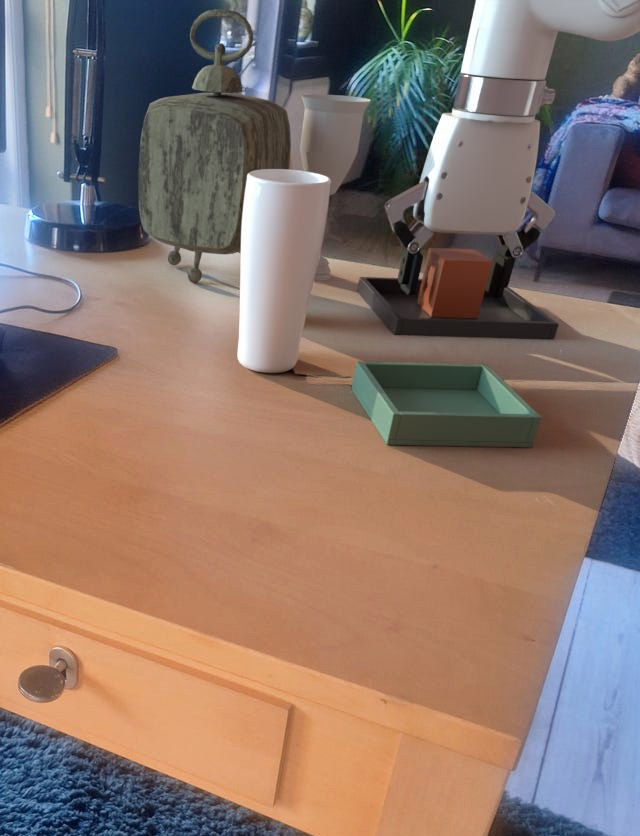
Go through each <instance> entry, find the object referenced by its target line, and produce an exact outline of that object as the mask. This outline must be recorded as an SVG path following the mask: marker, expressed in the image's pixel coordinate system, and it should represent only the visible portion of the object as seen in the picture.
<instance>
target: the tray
mask: <svg viewBox="0 0 640 836" xmlns="http://www.w3.org/2000/svg"><path fill="white" fill-rule="evenodd" d="M351 390H352V392H353V394H354V395H355V397H356V398H357V401H358V402H359V403H360V405H361V406H362V408H363V409H364V411H365V413H366V415H367V416H368V417H369V419H370V421H371V422H372V424H373V425H374V427H375V428H376V430H377V432H378V433H379V434H380V437H381V438H382V440H383V441H384V443H385V444H386V446H429V447H430V446H431V447H432V446H433V447H434V446H436V447H437V446H438V447H440V446H441V447H484V448H485V447H486V448H533V446H534V443H535V439H536V437H537V434H538V430H539V427H540V425H541V420H542V416H541V414H539V413H538V412H537V411H536V410H534V408H533V407H532V406H530V404H528V403H527V402H526V401H525V399H523V398H522V397H521V396H520V395H519V394H518V393H517V391H515V390H514V389H513V388H512V386H510V385H509V383H507V382H506V381H505V380H504V379H503V378H501V376H500V375H499V374H497V373H496V372H495V370H493V369H492V368H491V367H490V366H489V365H488V364H480V363H479V364H478V363H477V364H473V363H472V364H471V363H439V362H438V363H436V362H403V361H402V362H397V361H362V360H361V361H360V360H359V361H358V360H357V361H356V363H355V368H354V373H353V379H352V385H351Z"/></svg>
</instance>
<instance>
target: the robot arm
mask: <svg viewBox="0 0 640 836" xmlns="http://www.w3.org/2000/svg"><path fill="white" fill-rule="evenodd" d="M559 32H562V33H567V34H573V35H577V36H580V37H584V38H589V39H593V40H597V41H602V42H614V41H615V42H616V41H620V40H623V39H627V38H630V37H632V36H634V35H635V34H637V33H639V32H640V0H475V3H474V8H473V13H472V18H471V22H470V27H469V32H468V35H467V41H466V45H465V50H464V53H463V59H462V62H461V67H460V68H461V69H460V73H459V77H458V82H457V87H456V90H455V91H456V92H455V96H454V101H453V106H452V109H451V112H443V113H442V114H441V117H440V119H439V121H438V124H437V126H436V128H435V132H434V134H433V138H432V140H431V143H430V147H429V149H428V152H427V156H426V159H425V162H424V164H423V165H424V166H423V169H422V172H421V176H420V179H419V182H418V183H417V184H415V185H414V186H412V187H409V188H408V189H407V190H404V191H403V192H401V193H399V194H397V195H395V196H394V197H392V198H390V199H388V200H387V201H386V202H385V203H384V210H385V213H386V216H387V219H388V223H389V224H390V229H391V231H392V233H393V234H394V236H395V237H396V239H397V240H398V242H399V243H400V246H401V247H403V249H402V250H403V251H402V255H401V261H400V266H399V270H398V275H397V278H398V282H399V283H400V284H401V289H402V290H403V291H404V292H405V293H406V294H407V295H413V294H415V293H416V288H417V284H418V279H420V275H421V270H422V265H423V260H424V255H423V254H422V253H421V250H422V248H423V247H424V246H425V245H426V243H427V242H429V240H431V239H432V237H433V236H434V235H435V234H436V233H440V234H457V235H481V236H483V235H484V236H496V238H497V241H498V244H499V245H500V247H499V250H495V252H494V253H493V256H492V260H491V261H492V265H491V269H490V273H489V277H488V280H487V284H486V288H485V290H486V291H487V292H488V293H490V294H491V295H492V296H493V297H495V298H501V297H502V295H503V291H504V288H507V286H508V287H509V284H510V281H511V277H512V273H513V269H514V267H515V262H516V259H517V258H520V257H521V256H522V255H523V252H524V251H525V250H526V249H527V248H528V247H530V246H531V245H532V244H533V243H535V242H536V241H537V240H538V239H539V237H540V235H541V233H542V232H544V230H545V229H546V228H547V227H548V226H549V224H550V223H551V222H552V221H553V219H554V218H555V217H556V211H555V210H554V209H553V208H552V207H551V206H550V205H549V204H548V203H547V202H546V201H544V200H543V199H542V198H541V197H540V196H539V195H538V194H536V192H534V191H533V190H532V188H533V182H534V177H535V172H536V166H537V160H538V154H539V153H538V152H539V144H540V143H539V142H540V133H541V132H540V131H541V121H540V120H538V119H536V115H537V114H539V112H540V108H541V107H544V106H552V104H554V100H555V97H556V89H555V88H550V87H548V86H547V80H546V77H547V72H548V69H549V66H550V61H551V59H552V55H553V52H554V51H553V50H554V47H555V43H556V39H557V36H558V33H559ZM412 206H413V211H412V216H413V219H414V220H415V221H416V222H415V223H414V224H413V225H412V226H411V227H410V228H409V227H408V225H407V224H406V221H405V217H404V212H405V210H406V209H409V208H411V207H412ZM527 209H528V210H529V211H531V212H532V218H531V220H530V221H529V223H528V224H527V225H525V226H524V227H522V228H521V226H522V224H523V222H524V219H525V216H526V212H527ZM520 228H521V229H520ZM519 229H520V230H519ZM517 231H518V232H517Z"/></svg>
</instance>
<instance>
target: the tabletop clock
mask: <svg viewBox="0 0 640 836" xmlns="http://www.w3.org/2000/svg"><path fill="white" fill-rule="evenodd" d="M213 18H226V19H230V20H233V21H236V22H238V23H240V24H241V25H242V26H243V28H244V29H245V30H246V33H247V37H248V41H247V44H246V46H245V47H244V48H242V49H241V50H239V51H235V52H232V53H226V48H227V47H226V46H225V44H223V43H221V42H219V43H217V44H215V47H214V51H209V50H207V49H205V48H202V47H201V46H200V45H199V44H198V43H197V41H196V37H195V34H196V31H197V29H198V28H199V26H200V25H201V24H202V23H203V22H205V21H206V20H209V19H213ZM189 39H190V43H191V47H192V48H193V50H194V51H195V52H196V53H197V54H198V55H199V56H201V57H202V58H204V59H206V60H209V61H212V62H214V63H213V64H209V65H206V66H203V67H202V68H201V69H200V71H198V73H197V74H196V76H195V78H194V81H193V83H192V86H191V89H192V90H195V91H202V92H199V93H190V94H189V93H188V94H181V95H173V96H166V97H162V98H161V97H160V98H158V99H156V100H154V101H152V102H150V103H149V104H148V105H149V106H148V108H147V110H146V114H145V116H144V119H143V124H142V128H141V135H140V144H139V157H138V169H137V171H138V173H137V175H138V176H137V177H138V179H137V180H138V185H137V186H138V210H139V219H140V222H141V226H142V230H143V231H144V232H145V233H146V234H147V235H148V236H150V237H151V238H153V239H154V240H155V241H158V242H160V243H162V244H165V245H169V246H172V247H173V250H171V251H170V252H169V253H168V254H167V262H168V263H169V264H170V266H177V265H179V264H180V263H181V262H182V256H181V253H180V250H181V249H183V250H185V251H189V252H194V260H193V267H191V268H190V269H189V270H188V271H187V279H188V281H189V282H190V283H193V284H196V283H199V282H200V281H201V279H202V270H201V269H200V268H199V267H200V263H201V259H202V255H203V253H204V254H213V255H214V254H215V255H234V254H236V253H238V254H239V255H241V225H242V212H243V202H244V194H245V187H246V180H247V174H248V173H249V172H251V171H255V170H262V169H287V170H290V167H291V148H292V147H291V146H292V144H291V143H292V138H291V136H292V135H291V125H290V119H289V114H288V111H287V110H286V109H285V108H284V107H282V106H281V105H279V104H278V103H276V102H274V101H272V100H269V99H266V98H261V97H257V96H251V95H247V94H243V92H244V90H243V85H242V81H241V78H240V76H239V74H238V73H237V72H236V70H235V69H233V68H232V67H231V66H229V65H225V63H226V62H234V61H237V60H239V59H242V58H244V57H245V56H246V55H247V54H248V52H250V50H251V49H252V46H253V42H254V31H253V29H252V25H251V24H250V22H249V21H248V19H247V18H246V17H245V16H243V14H241V13H240V12H238V11H235V10H231V9H227V8H225V9H223V8H214V9H209V10H208V9H207V10H206V11H204V12H203V13H201V14H200V15H198V17H196V19H195V20H194V21H193V23H192V26H191V27H190V33H189ZM241 93H242V94H241Z"/></svg>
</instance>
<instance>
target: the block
mask: <svg viewBox="0 0 640 836" xmlns="http://www.w3.org/2000/svg"><path fill="white" fill-rule="evenodd" d="M491 265H492V260H491V259H490V258H488V257H486V256H485V255H483V254H482V253H481V252H479V251H478V250H477V249H469V248H468V249H467V248H444V247H443V248H442V247H439V248H438V247H429V248H428V250H427V255H426V260H425V264H424V269H423V273H422V278H421V279H422V282H421V287H420V292H419V296H418V301H417V303H418V304H419V305H420V306H421V307H422V308H423V309H424V310H425V311H426V312H427V313H428V314H429V315H430V316H431V317H445V318H478V315H479V311H480V307H481V304H482V300H483V296H484V292H485V288H486V284H487V280H488V277H489V273H490V269H491Z"/></svg>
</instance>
